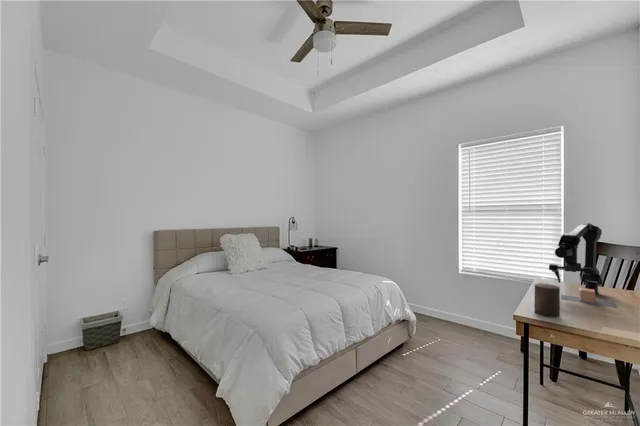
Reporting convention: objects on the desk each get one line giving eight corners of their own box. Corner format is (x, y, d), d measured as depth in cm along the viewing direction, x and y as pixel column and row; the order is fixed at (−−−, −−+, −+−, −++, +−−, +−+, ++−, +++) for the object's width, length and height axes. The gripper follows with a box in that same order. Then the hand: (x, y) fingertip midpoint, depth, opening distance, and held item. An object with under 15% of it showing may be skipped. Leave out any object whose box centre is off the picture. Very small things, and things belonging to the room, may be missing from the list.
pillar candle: (556, 319, 133) (556, 286, 133) (531, 313, 141) (531, 282, 141) (562, 314, 139) (562, 283, 139) (538, 309, 147) (538, 279, 147)
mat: (561, 295, 170) (560, 294, 170) (614, 302, 156) (614, 301, 156) (560, 300, 161) (560, 299, 161) (617, 308, 147) (617, 307, 147)
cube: (579, 287, 162) (594, 289, 158) (579, 298, 162) (594, 300, 159) (579, 290, 158) (595, 292, 154) (579, 301, 158) (595, 303, 154)
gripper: (548, 256, 162) (548, 284, 162) (594, 260, 150) (594, 290, 150) (549, 254, 171) (549, 280, 171) (592, 257, 159) (592, 285, 159)
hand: (570, 284), depth 163 cm, fingers open, 9 cm apart
